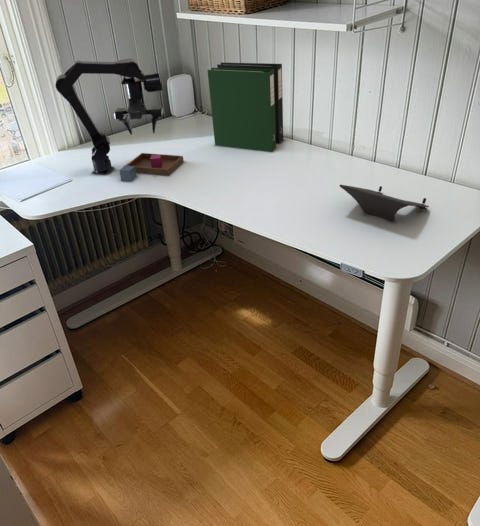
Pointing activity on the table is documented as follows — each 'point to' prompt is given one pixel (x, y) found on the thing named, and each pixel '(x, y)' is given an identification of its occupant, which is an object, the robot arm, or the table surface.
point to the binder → (247, 105)
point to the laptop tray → (379, 202)
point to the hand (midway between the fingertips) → (142, 133)
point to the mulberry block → (156, 161)
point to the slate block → (128, 173)
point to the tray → (167, 168)
